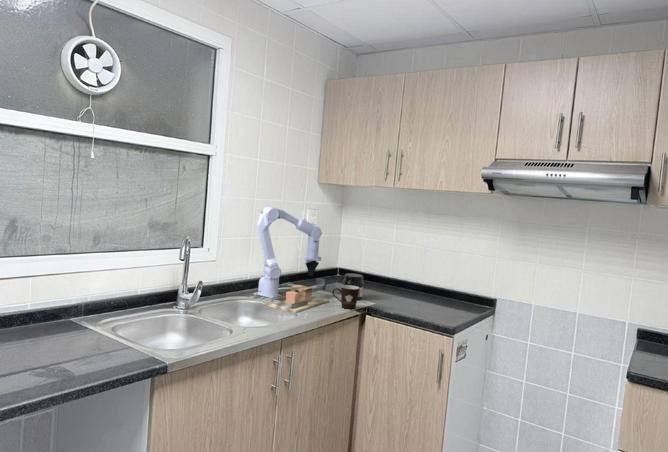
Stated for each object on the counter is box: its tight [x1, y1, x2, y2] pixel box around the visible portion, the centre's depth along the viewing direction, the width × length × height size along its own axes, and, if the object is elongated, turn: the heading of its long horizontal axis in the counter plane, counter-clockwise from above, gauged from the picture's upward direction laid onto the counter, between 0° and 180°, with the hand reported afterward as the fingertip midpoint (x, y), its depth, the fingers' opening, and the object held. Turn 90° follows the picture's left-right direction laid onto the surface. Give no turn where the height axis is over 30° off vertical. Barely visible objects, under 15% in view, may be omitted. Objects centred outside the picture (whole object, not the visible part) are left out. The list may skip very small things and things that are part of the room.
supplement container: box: [342, 273, 365, 301], centre depth 239 cm, size 10×10×12 cm
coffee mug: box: [332, 284, 359, 310], centre depth 218 cm, size 12×9×10 cm
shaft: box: [297, 277, 327, 295], centre depth 228 cm, size 5×20×5 cm, turn 150°
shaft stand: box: [263, 284, 330, 313], centre depth 219 cm, size 17×29×8 cm, turn 150°
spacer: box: [285, 290, 299, 304], centre depth 215 cm, size 5×5×3 cm
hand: (310, 275), depth 238 cm, fingers closed
